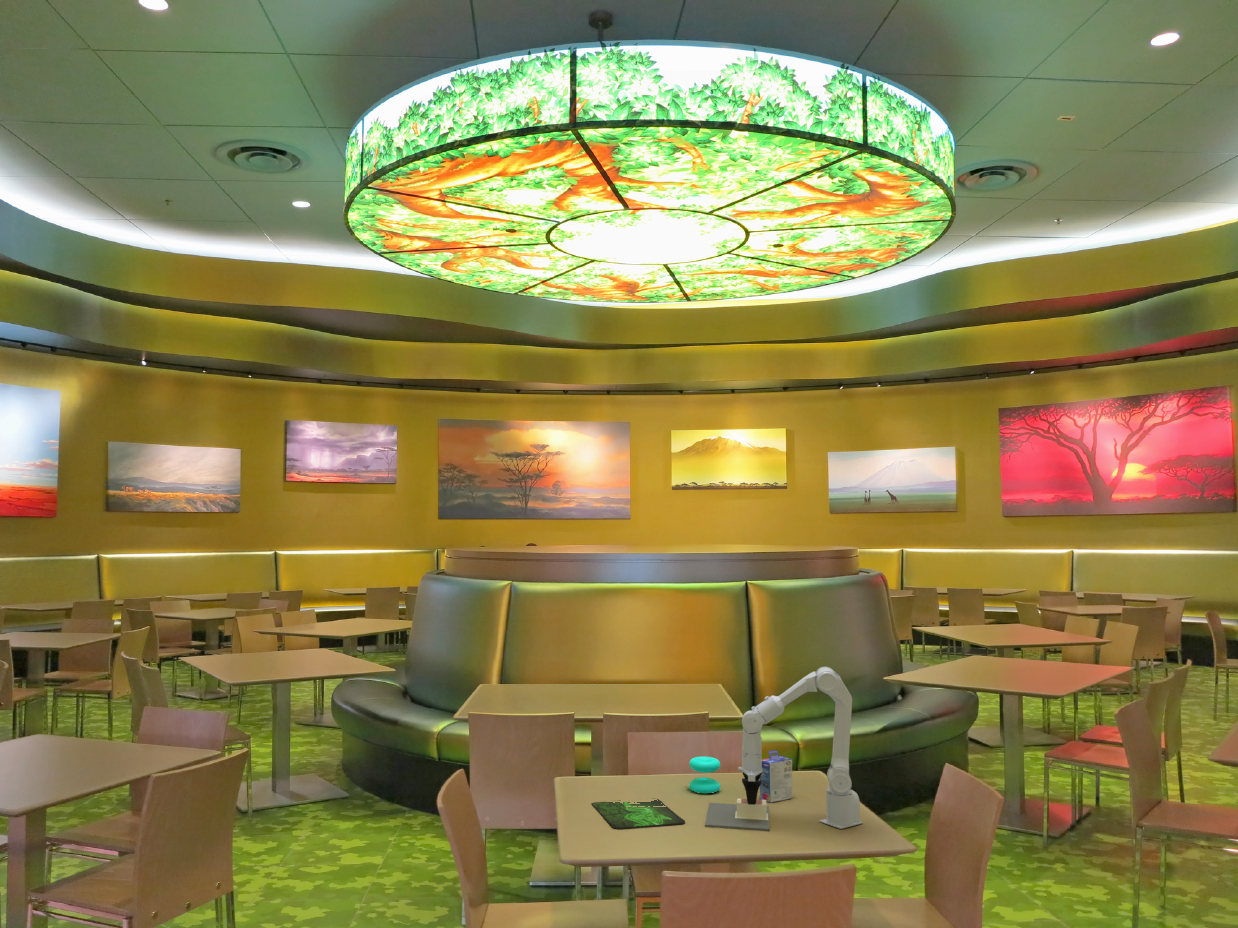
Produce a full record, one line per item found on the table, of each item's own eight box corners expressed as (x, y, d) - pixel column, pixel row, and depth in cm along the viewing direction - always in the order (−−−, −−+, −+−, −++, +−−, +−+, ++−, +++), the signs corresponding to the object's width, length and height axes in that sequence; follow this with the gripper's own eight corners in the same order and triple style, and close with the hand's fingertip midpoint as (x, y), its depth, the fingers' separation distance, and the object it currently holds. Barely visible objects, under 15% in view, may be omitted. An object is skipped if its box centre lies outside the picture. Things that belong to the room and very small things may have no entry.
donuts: (687, 761, 292) (691, 754, 302) (686, 793, 292) (691, 785, 301) (718, 763, 290) (722, 756, 300) (718, 796, 289) (721, 787, 299)
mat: (768, 808, 277) (768, 805, 277) (769, 830, 256) (769, 828, 256) (709, 804, 280) (709, 802, 280) (704, 826, 258) (704, 824, 258)
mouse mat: (588, 803, 280) (588, 800, 280) (656, 798, 286) (656, 795, 286) (614, 831, 254) (614, 827, 254) (687, 825, 260) (687, 821, 260)
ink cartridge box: (781, 794, 293) (781, 748, 294) (793, 798, 288) (793, 751, 289) (758, 798, 287) (758, 751, 288) (770, 803, 283) (770, 755, 284)
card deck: (737, 811, 270) (737, 797, 271) (766, 813, 269) (766, 799, 269) (736, 817, 265) (736, 802, 266) (766, 818, 264) (766, 804, 264)
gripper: (738, 746, 276) (738, 792, 275) (737, 758, 262) (737, 806, 261) (762, 747, 275) (762, 794, 274) (762, 759, 261) (762, 808, 260)
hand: (751, 800), depth 268 cm, fingers open, 7 cm apart
